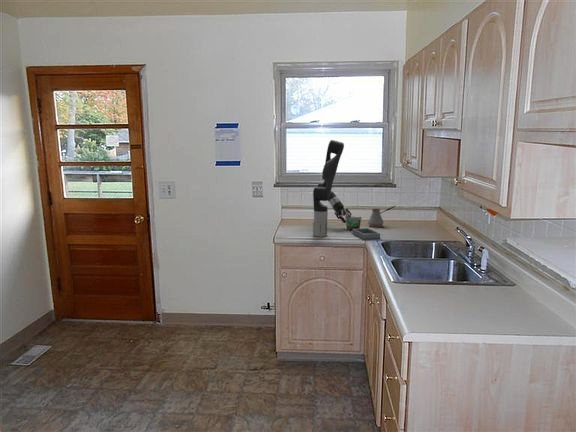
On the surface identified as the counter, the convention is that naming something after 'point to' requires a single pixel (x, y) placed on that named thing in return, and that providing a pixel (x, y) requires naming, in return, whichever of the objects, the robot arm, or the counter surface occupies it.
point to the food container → (353, 222)
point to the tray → (366, 233)
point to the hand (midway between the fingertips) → (348, 221)
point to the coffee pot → (377, 218)
